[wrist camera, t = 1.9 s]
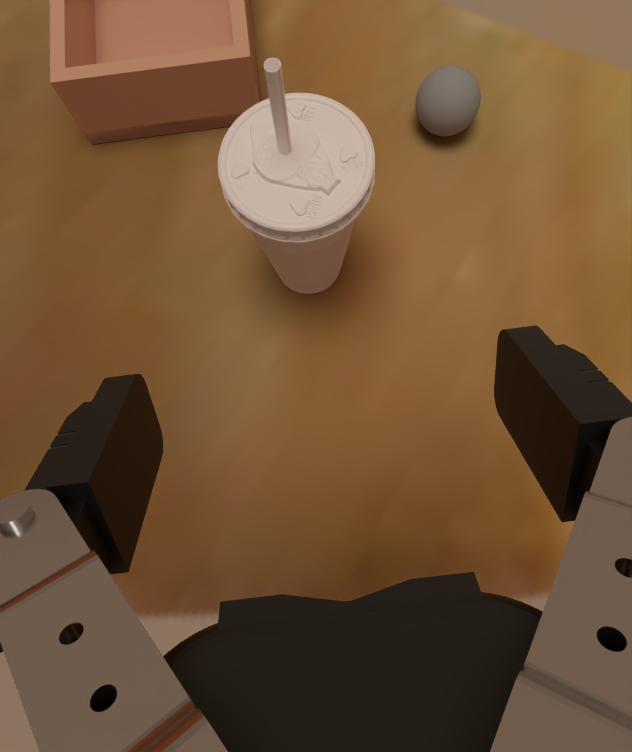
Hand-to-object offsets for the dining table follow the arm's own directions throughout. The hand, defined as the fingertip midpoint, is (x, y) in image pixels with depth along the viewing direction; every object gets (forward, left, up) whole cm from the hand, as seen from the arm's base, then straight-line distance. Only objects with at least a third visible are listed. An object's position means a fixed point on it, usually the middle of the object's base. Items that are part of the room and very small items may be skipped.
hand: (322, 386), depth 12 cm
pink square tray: (-7, +26, -16) cm, 31 cm away
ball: (+9, +19, -16) cm, 27 cm away
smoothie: (0, +11, -17) cm, 20 cm away
